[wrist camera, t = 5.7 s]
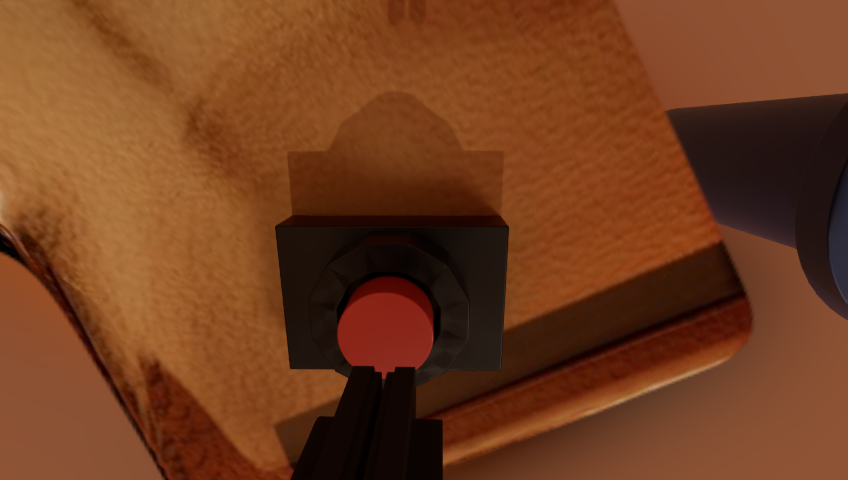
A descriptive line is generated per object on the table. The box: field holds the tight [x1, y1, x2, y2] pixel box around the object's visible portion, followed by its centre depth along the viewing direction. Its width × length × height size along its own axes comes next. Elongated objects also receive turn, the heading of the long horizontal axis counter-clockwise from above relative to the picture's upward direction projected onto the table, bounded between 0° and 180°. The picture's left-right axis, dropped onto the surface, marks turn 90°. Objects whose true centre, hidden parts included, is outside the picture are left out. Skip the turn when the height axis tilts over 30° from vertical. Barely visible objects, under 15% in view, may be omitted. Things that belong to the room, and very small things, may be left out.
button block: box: [275, 216, 509, 388], centre depth 18 cm, size 10×7×4 cm
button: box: [337, 276, 434, 379], centre depth 16 cm, size 4×4×2 cm
